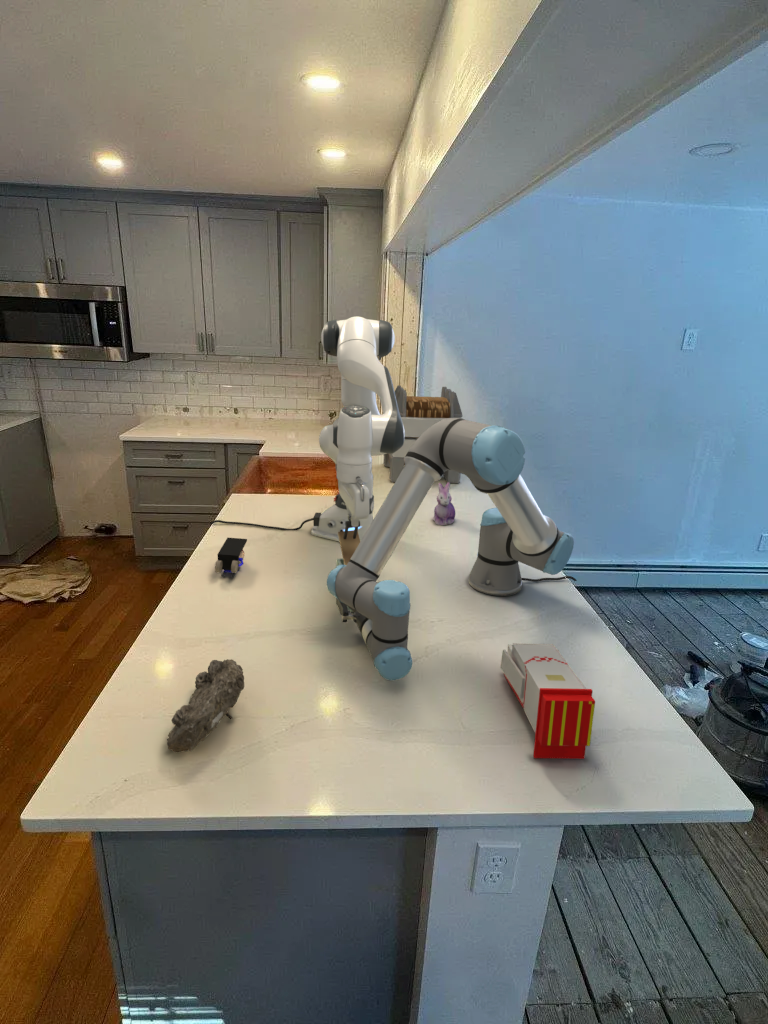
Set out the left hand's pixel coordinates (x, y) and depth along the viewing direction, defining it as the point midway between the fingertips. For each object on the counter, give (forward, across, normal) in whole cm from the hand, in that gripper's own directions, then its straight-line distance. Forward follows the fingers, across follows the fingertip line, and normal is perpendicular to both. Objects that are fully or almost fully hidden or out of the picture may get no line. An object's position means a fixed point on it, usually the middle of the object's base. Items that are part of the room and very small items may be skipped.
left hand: (352, 523), depth 147 cm
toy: (+22, -52, -27) cm, 63 cm away
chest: (+22, 0, 0) cm, 22 cm away
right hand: (+16, -3, 0) cm, 16 cm away
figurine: (+22, +51, -47) cm, 73 cm away
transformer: (+23, +116, -60) cm, 132 cm away
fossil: (+22, -41, +36) cm, 59 cm away
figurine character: (+22, +24, +31) cm, 45 cm away
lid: (+9, 0, 0) cm, 9 cm away
